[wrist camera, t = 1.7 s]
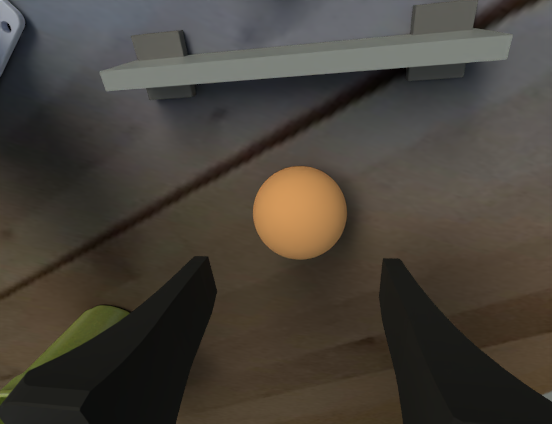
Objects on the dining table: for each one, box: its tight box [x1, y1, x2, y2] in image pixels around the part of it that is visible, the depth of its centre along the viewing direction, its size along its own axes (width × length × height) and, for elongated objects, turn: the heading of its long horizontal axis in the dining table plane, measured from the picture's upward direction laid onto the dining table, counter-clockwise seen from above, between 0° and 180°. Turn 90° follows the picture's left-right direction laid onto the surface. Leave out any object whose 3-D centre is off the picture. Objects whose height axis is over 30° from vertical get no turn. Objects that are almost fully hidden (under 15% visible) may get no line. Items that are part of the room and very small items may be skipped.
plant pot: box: [0, 305, 130, 424], centre depth 26 cm, size 9×9×9 cm
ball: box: [253, 166, 347, 260], centre depth 18 cm, size 5×5×5 cm
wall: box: [100, 0, 513, 100], centre depth 14 cm, size 16×3×4 cm, turn 95°
